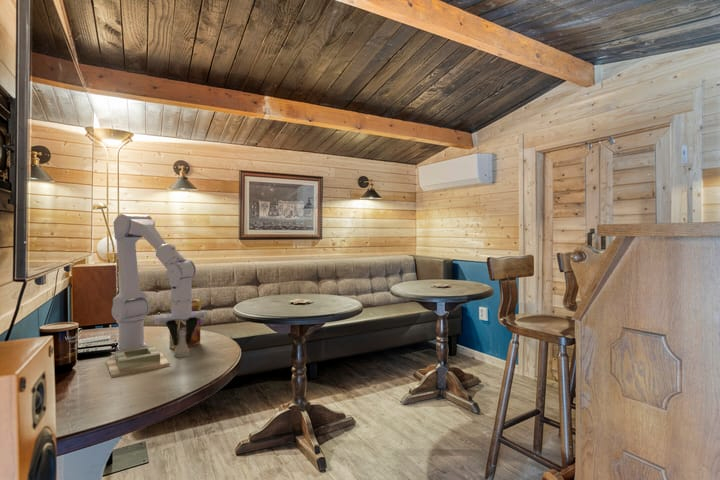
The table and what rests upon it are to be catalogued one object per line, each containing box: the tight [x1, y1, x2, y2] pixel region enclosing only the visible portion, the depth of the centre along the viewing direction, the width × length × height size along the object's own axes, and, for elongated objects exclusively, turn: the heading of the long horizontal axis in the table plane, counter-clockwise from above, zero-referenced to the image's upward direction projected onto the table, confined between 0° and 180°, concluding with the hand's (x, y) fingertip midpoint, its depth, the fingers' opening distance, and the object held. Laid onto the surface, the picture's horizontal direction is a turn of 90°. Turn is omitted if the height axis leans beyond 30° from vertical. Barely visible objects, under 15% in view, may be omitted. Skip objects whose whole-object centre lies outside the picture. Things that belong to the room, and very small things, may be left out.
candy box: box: [169, 298, 202, 350], centre depth 126 cm, size 9×4×15 cm, turn 142°
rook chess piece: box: [173, 329, 190, 359], centre depth 117 cm, size 4×4×8 cm
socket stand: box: [105, 344, 170, 378], centre depth 109 cm, size 14×14×3 cm
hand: (181, 343), depth 117 cm, fingers closed on rook chess piece, 3 cm apart
